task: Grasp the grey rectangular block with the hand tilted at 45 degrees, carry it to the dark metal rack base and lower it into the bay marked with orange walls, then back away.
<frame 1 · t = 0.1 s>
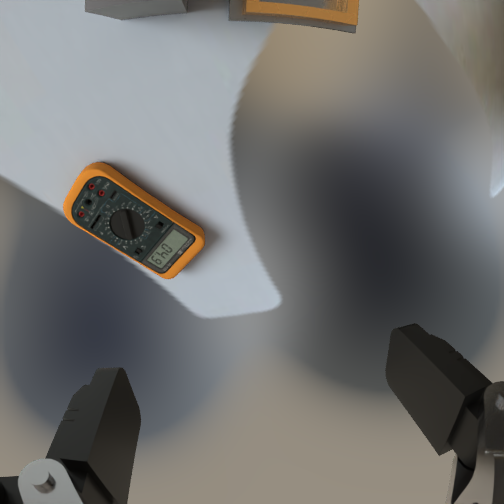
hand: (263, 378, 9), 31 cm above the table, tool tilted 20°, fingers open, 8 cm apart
multimeter: (135, 214, 40), on the table
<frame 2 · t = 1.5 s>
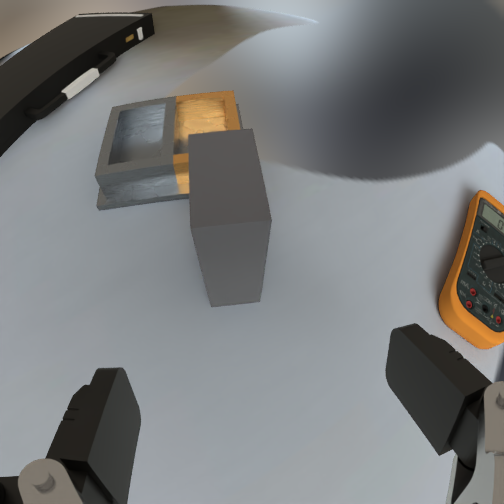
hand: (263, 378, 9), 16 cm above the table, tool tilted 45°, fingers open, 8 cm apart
grey rectangular block: (230, 266, 28), on the table
rack: (174, 151, 34), on the table
briefcase: (42, 88, 44), on the table
multimeter: (479, 272, 29), on the table
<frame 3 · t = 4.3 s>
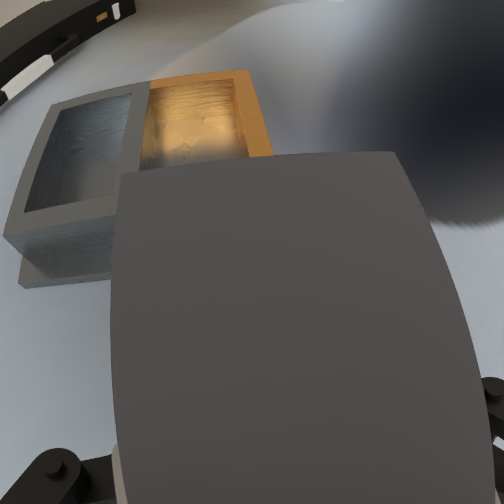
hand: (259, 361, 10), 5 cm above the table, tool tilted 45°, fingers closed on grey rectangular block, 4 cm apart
grey rectangular block: (261, 418, 13), on the table, touching gripper
rack: (147, 176, 20), on the table
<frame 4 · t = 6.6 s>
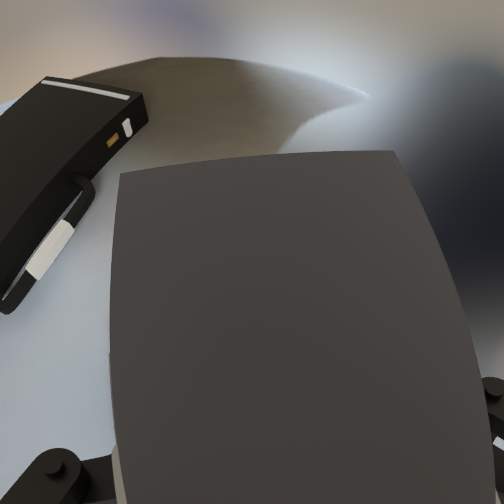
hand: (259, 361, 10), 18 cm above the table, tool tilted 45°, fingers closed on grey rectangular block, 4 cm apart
grey rectangular block: (261, 418, 13), point 13 cm above the table, touching gripper
briefcase: (4, 217, 34), on the table
when the fingers open (7 cm above the table, at t = 8.9 s): grey rectangular block drops 1 cm, resting on rack.
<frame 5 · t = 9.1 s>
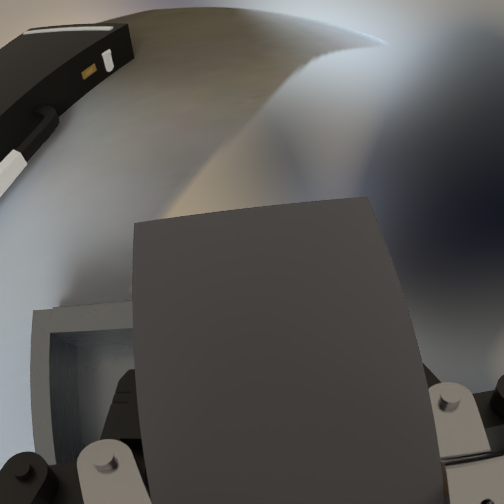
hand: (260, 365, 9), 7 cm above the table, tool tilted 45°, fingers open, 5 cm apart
grey rectangular block: (261, 418, 14), point 1 cm above the table, touching rack
rack: (193, 425, 15), on the table
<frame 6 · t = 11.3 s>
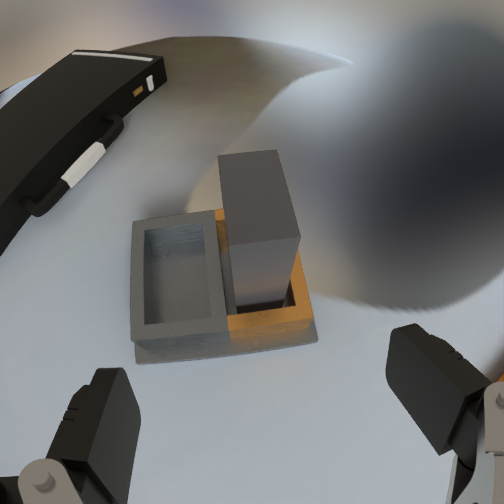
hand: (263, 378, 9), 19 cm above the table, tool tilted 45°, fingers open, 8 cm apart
grey rectangular block: (253, 275, 30), point 1 cm above the table, touching rack
rack: (217, 283, 30), on the table
briefcase: (38, 154, 41), on the table
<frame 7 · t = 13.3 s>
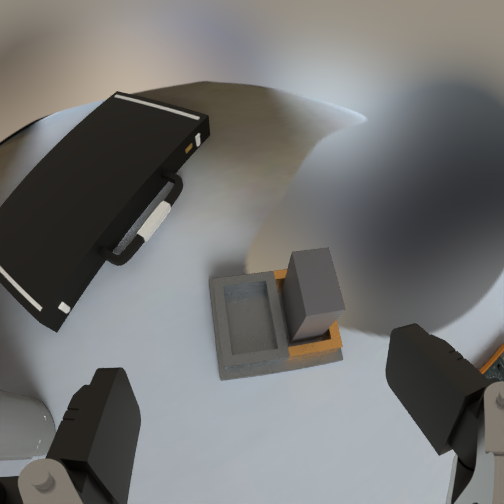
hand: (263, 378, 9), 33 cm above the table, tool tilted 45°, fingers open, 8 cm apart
grey rectangular block: (299, 316, 43), point 1 cm above the table, touching rack
rack: (274, 321, 43), on the table
briefcase: (98, 200, 53), on the table
multimeter: (483, 392, 37), on the table
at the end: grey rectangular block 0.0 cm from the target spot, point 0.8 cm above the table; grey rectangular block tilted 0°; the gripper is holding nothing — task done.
